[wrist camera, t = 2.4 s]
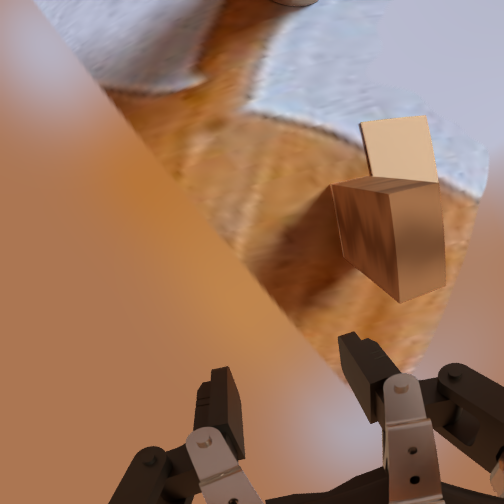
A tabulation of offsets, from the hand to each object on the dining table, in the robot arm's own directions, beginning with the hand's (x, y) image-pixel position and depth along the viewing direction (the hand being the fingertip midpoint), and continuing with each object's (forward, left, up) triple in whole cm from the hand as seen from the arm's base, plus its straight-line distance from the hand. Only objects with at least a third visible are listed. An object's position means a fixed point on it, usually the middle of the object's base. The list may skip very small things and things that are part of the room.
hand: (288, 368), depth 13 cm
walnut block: (+4, +12, -23) cm, 27 cm away
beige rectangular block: (+5, +20, -23) cm, 31 cm away
